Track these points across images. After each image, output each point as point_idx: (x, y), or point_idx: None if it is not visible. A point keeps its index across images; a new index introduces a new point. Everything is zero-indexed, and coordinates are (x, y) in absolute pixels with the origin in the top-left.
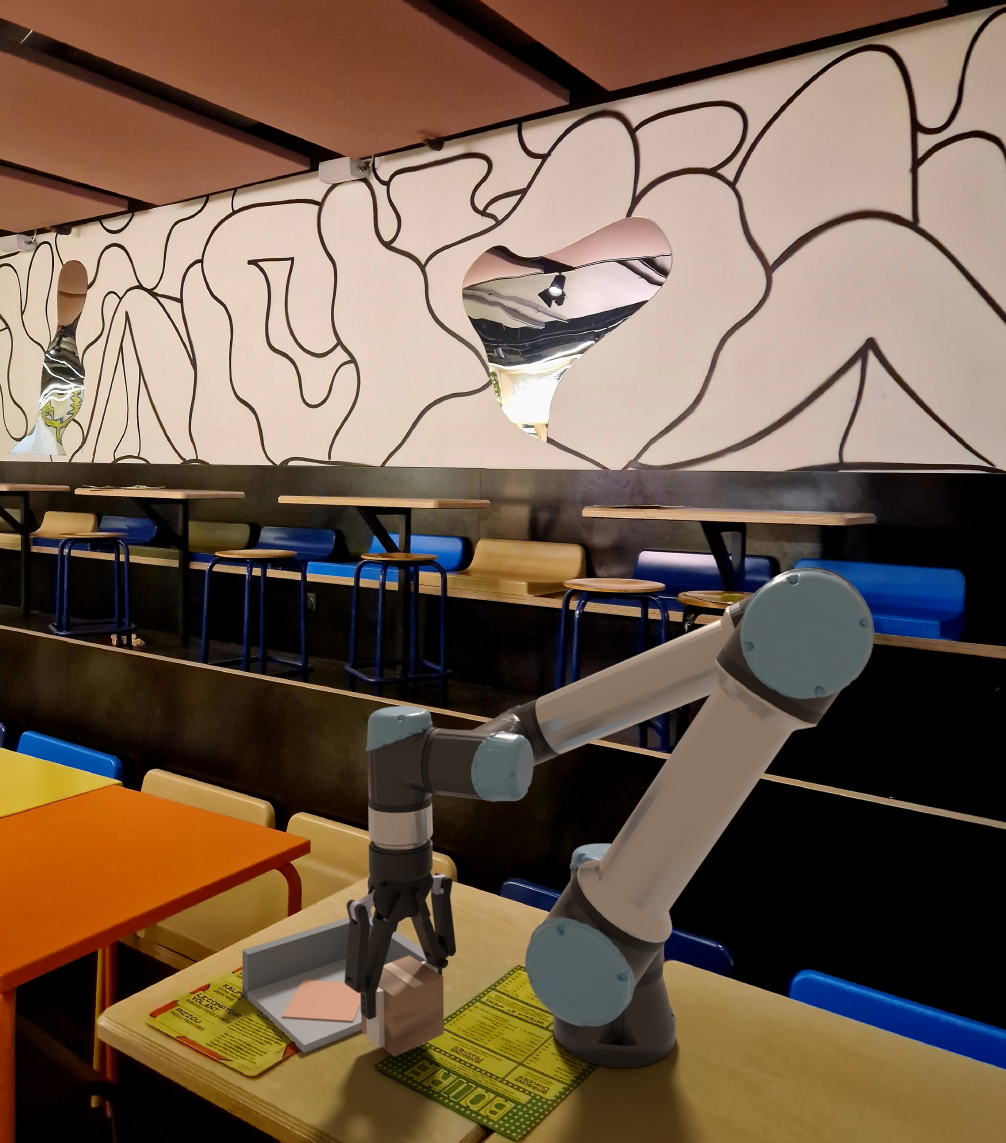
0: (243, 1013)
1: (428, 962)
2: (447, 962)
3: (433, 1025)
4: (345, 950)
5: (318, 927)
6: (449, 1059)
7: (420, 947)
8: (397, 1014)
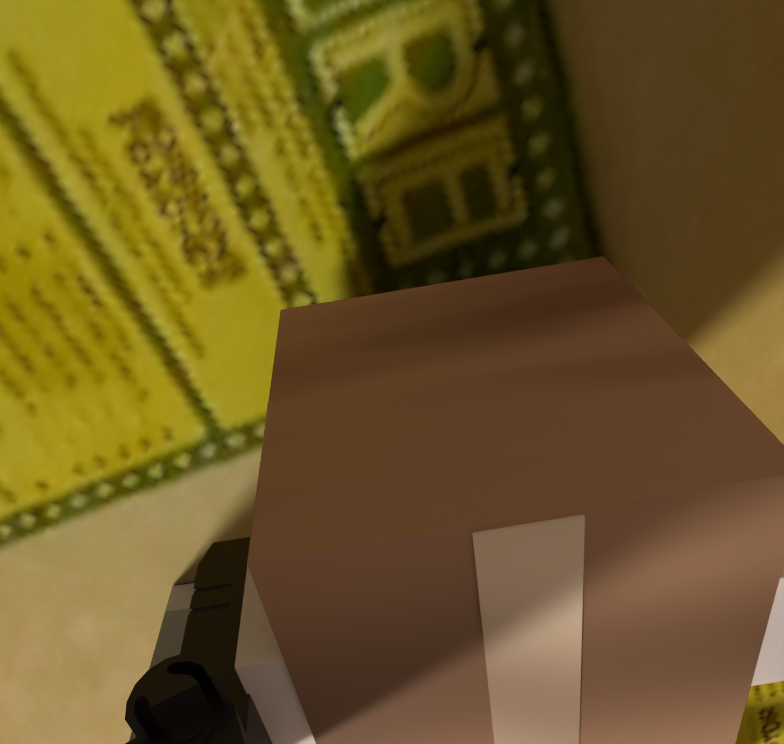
0: (752, 713)
1: (267, 742)
2: (137, 698)
3: (351, 333)
4: None
5: None
6: (283, 206)
7: None
8: (684, 380)
